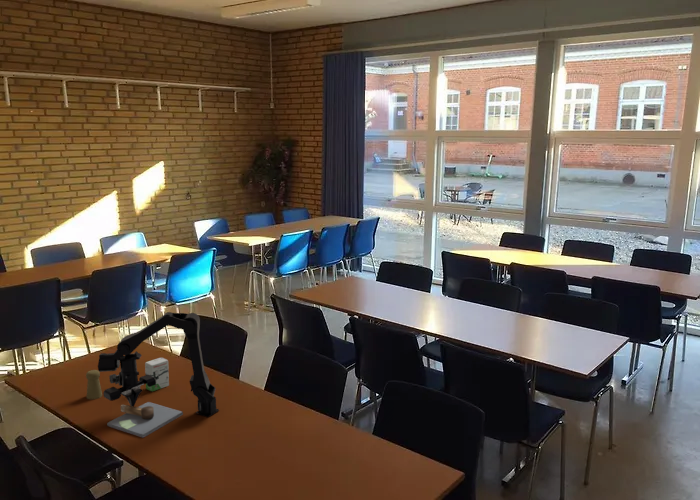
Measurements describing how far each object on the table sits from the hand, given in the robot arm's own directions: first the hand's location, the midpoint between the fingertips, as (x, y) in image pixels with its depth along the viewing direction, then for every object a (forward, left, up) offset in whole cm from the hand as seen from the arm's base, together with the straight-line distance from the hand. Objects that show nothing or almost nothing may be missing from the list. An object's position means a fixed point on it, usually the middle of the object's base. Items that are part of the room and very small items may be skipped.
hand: (132, 407), depth 219 cm
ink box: (+10, -23, -3) cm, 26 cm away
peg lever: (-4, +1, -1) cm, 4 cm away
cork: (+26, -4, -3) cm, 27 cm away
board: (-8, +1, -3) cm, 8 cm away
